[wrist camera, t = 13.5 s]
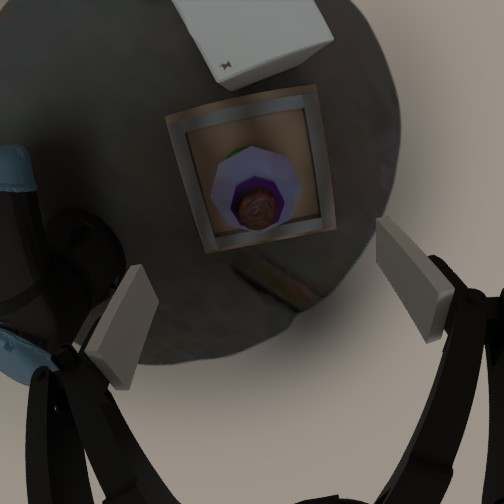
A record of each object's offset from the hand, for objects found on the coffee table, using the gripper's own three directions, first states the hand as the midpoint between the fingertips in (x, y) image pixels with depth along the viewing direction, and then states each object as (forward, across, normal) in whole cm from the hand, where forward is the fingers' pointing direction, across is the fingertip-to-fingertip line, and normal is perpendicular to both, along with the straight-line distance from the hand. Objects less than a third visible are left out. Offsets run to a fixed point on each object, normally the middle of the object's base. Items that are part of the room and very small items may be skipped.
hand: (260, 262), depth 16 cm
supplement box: (+22, +3, +15) cm, 26 cm away
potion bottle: (+20, 0, 0) cm, 20 cm away
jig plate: (+22, 0, 0) cm, 22 cm away
